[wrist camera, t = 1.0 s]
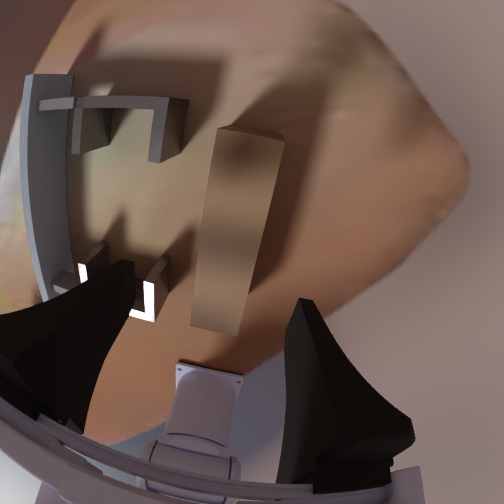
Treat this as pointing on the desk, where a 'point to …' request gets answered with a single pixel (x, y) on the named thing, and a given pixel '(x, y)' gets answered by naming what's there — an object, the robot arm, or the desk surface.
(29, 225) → the backboard
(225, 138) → the rail
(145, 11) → the desk surface
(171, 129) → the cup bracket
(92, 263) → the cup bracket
